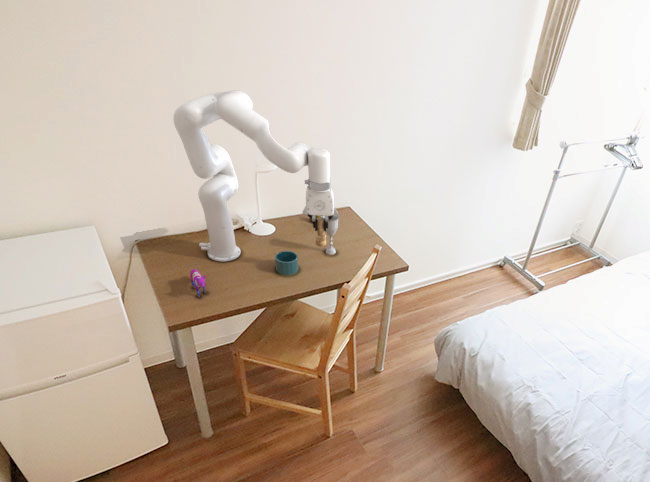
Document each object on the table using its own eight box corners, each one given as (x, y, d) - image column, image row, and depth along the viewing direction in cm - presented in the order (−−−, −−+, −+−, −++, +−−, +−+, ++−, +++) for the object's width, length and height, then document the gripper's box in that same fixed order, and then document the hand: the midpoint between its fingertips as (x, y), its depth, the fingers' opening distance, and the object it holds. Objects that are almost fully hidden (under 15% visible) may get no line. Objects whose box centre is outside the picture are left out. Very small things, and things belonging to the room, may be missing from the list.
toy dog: (201, 304, 164) (196, 281, 158) (187, 278, 174) (181, 255, 168) (212, 302, 166) (207, 278, 160) (197, 276, 176) (192, 253, 170)
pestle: (315, 246, 179) (314, 220, 172) (316, 241, 182) (315, 216, 175) (326, 246, 179) (325, 221, 173) (326, 241, 182) (326, 216, 176)
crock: (274, 275, 184) (273, 262, 180) (277, 263, 191) (276, 250, 186) (297, 276, 186) (296, 263, 182) (299, 264, 192) (298, 251, 188)
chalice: (334, 258, 200) (335, 221, 189) (320, 254, 200) (319, 217, 189) (341, 250, 206) (342, 214, 194) (326, 247, 206) (326, 210, 195)
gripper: (295, 186, 161) (298, 233, 172) (342, 190, 164) (342, 235, 175) (297, 178, 166) (299, 223, 178) (342, 181, 170) (342, 225, 181)
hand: (320, 229), depth 176 cm, fingers closed on pestle, 2 cm apart
